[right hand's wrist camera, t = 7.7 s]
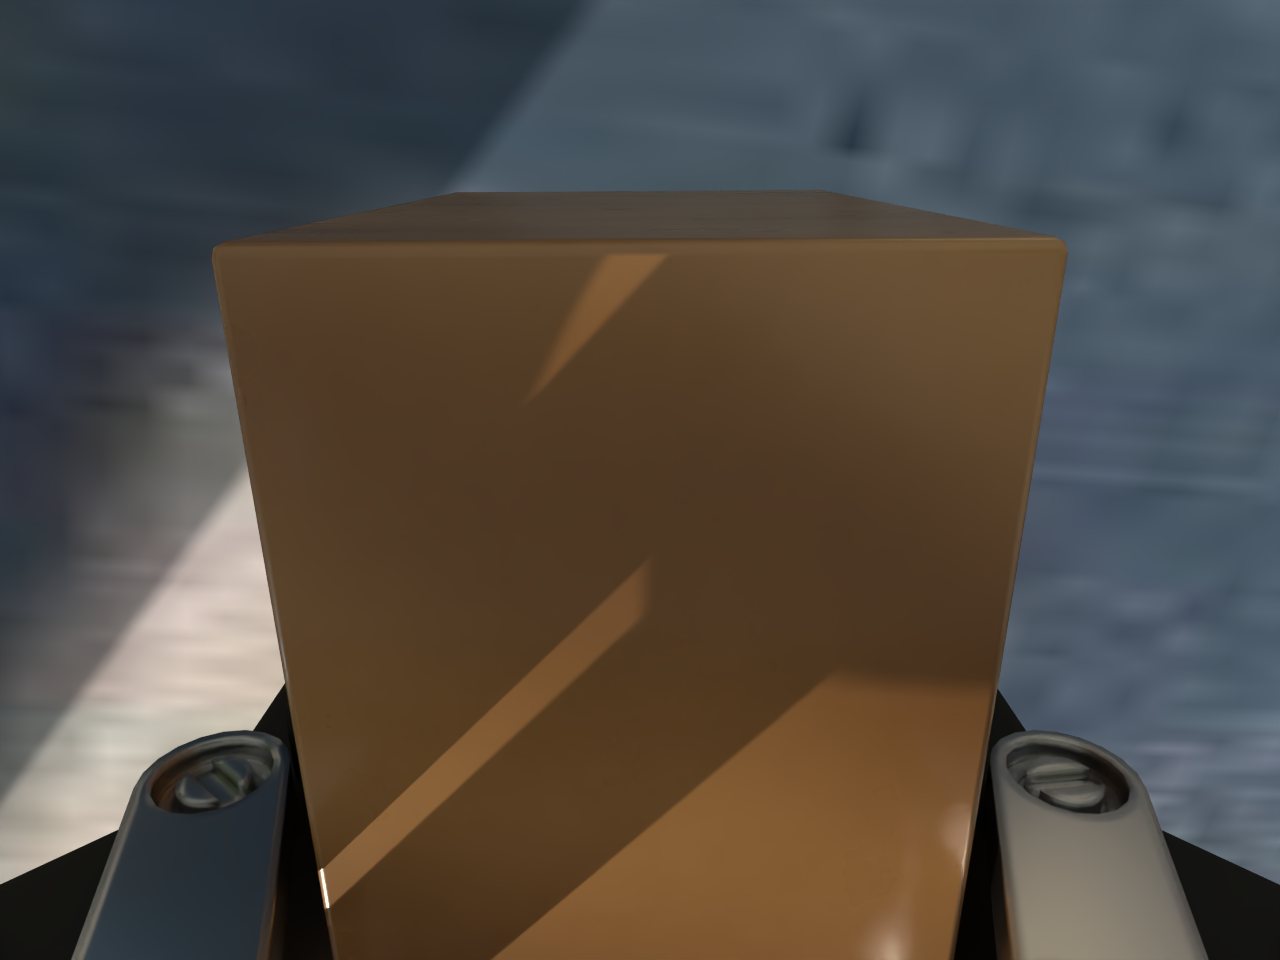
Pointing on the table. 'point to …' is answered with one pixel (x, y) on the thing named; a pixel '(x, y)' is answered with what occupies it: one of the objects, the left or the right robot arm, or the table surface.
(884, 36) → the table surface
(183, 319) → the table surface
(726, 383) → the post
